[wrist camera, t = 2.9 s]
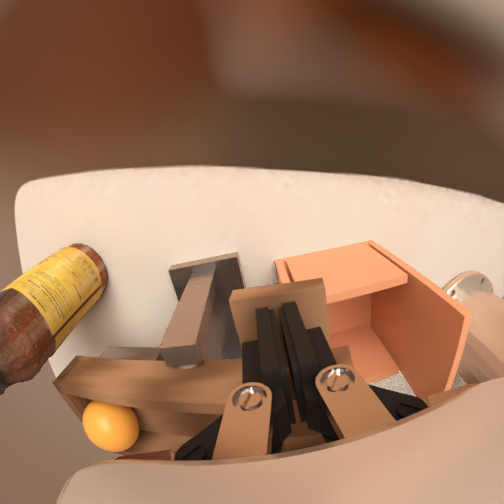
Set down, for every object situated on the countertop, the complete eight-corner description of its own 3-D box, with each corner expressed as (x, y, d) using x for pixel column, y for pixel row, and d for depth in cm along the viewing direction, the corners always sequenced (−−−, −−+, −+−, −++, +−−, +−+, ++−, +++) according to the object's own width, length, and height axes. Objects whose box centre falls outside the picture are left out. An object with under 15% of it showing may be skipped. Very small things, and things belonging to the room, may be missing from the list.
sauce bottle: (61, 235, 23) (-93, 332, 4) (112, 248, 24) (-46, 387, 5) (62, 292, 25) (-53, 409, 6) (110, 308, 25) (3, 460, 7)
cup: (371, 240, 24) (472, 313, 11) (373, 323, 27) (438, 418, 13) (274, 260, 24) (306, 368, 11) (289, 344, 27) (316, 461, 14)
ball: (130, 385, 15) (110, 430, 11) (154, 422, 16) (141, 465, 12) (85, 384, 15) (62, 422, 11) (111, 420, 16) (95, 457, 13)
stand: (237, 252, 24) (231, 328, 13) (263, 359, 28) (271, 453, 16) (171, 265, 24) (122, 342, 13) (207, 367, 28) (194, 459, 17)
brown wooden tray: (335, 255, 14) (361, 311, 9) (342, 403, 17) (350, 465, 12) (71, 291, 17) (22, 331, 12) (132, 405, 20) (107, 450, 15)
